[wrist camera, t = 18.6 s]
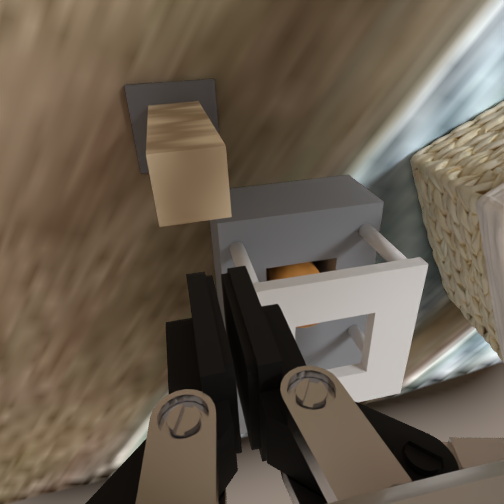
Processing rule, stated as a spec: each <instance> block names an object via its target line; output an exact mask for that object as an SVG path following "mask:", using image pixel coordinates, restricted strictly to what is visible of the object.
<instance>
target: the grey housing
mask: <svg viewBox="0 0 504 504" xmlns="http://www.w3.org/2000/svg"><path fill="white" fill-rule="evenodd" d="M229 190H230V202H231V214H232V217H229V218H221V219H214V220H210V228H211V238H212V248H213V258H214V267H215V277H216V287H217V297H218V301H219V305H220V309H221V313H222V318H223V322H224V326H225V330H226V325H225V315H224V304H223V293H222V282H221V274H225V273H227V268H232V267H239V266H246V268H247V270H248V273H249V276H250V278H251V281H252V283H253V286H254V288H255V291H256V294H257V296H258V299H259V301H260V304H261V306H267V305H273V304H278V305H279V306H280V308H281V310H282V312H283V314H284V317H285V319H286V321H287V323H288V325H289V328H290V330H291V332H292V334H293V336H294V339H295V341H296V343H297V345H298V347H299V350H300V352H301V354H302V356H303V359H304V361H305V363H306V365H307V366H317V367H320V368H324V369H326V370H328V371H329V372H331V373H333V374H334V375H335V376H336V377H337V379H338V380H339V381H340V382H341V384H342V385H343V386H344V388H345V389H346V390H347V392H348V393H349V395H350V396H351V397H352V399H353V400H354V401H355V402H362V401H366V400H371V399H375V398H380V397H384V396H389V395H394V394H398V393H400V391H401V387H402V382H403V378H404V373H405V369H406V364H407V360H408V355H409V351H410V346H411V342H412V337H413V332H414V328H415V323H416V319H417V314H418V310H419V305H420V301H421V296H422V292H423V287H424V283H425V278H426V273H427V269H428V263H427V262H425V261H424V260H423V259H422V258H421V257H417V258H411V259H407V258H406V257H405V256H404V255H403V254H402V253H401V252H400V251H399V250H398V249H396V248H395V247H394V246H393V245H392V244H391V243H390V242H389V241H388V240H387V239H386V238H384V237H383V236H382V235H381V234H380V227H381V220H382V212H383V205H384V202H383V201H382V200H381V199H380V198H378V197H377V196H376V195H374V194H373V193H372V192H370V191H369V190H368V189H366V188H365V187H364V186H363V185H361V184H360V183H359V182H357V181H356V180H355V179H353V178H352V177H351V176H349V175H343V176H334V177H326V178H317V179H308V180H300V181H291V182H283V183H274V184H265V185H257V186H248V187H239V188H231V189H229ZM377 252H378V253H379V254H380V255H381V256H382V257H383V258H384V259H385V260H386V261H387V262H385V263H379V264H375V262H376V255H377ZM306 262H313V263H314V265H315V266H316V268H317V269H318V271H319V272H320V273H316V274H309V275H303V276H297V277H290V278H284V279H278V280H271V281H267V280H266V268H273V267H280V266H286V265H293V264H299V263H306ZM315 323H318V324H317V325H314V326H311V327H307V328H297V327H298V326H304V325H309V324H315ZM236 387H237V386H236ZM237 399H238V411H239V423H240V434H244V433H247V428H246V424H245V420H244V416H243V411H242V407H241V403H240V398H239V394H238V390H237Z"/></svg>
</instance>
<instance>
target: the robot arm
mask: <svg viewBox="0 0 504 504" xmlns="http://www.w3.org/2000/svg"><path fill="white" fill-rule="evenodd" d="M186 276H187V284H188V291H189V298H190V305H191V313H192V318H189V319H183V320H177V321H171V322H166V342H167V364H168V386H169V395H167V396H165V397H164V398H163V399H162V400H161V401H159V402H158V404H157V405H156V406H155V408H154V409H153V411H152V414H151V417H150V422H149V428H148V434H147V439H146V440H145V441H144V442H143V443H142V444H141V445H140V446H139V447H138V448H137V449H136V450H135V451H134V452H133V453H132V455H131V456H130V457H129V458H128V459H127V460H126V461H125V462H124V463H123V464H122V465H121V466H120V467H119V468H118V470H117V471H116V472H115V473H114V474H113V475H112V476H111V477H110V478H109V479H108V480H107V481H106V482H105V483H104V484H103V486H102V487H101V488H100V489H99V490H98V491H97V492H96V493H95V494H94V495H93V497H91V498H90V499H89V501H88V502H87V503H86V504H227V501H226V500H227V496H226V487H227V485H228V484H229V482H230V481H231V479H232V478H233V476H234V475H235V473H236V472H237V470H238V468H237V457H236V454H237V453H241V452H242V449H241V435H240V423H239V411H238V399H237V390H238V394H239V398H240V403H241V407H242V411H243V416H244V420H245V424H246V428H247V433H248V437H249V441H250V445H251V449H252V450H254V449H259V450H260V454H261V458H262V461H267V463H268V464H270V465H271V466H273V467H275V468H277V469H278V470H280V472H281V476H282V480H283V482H284V485H285V487H286V489H287V491H288V493H289V496H290V498H291V500H292V503H293V504H504V438H455V437H451V438H449V441H448V442H441V441H440V440H438V439H437V438H435V437H433V436H431V435H430V434H428V433H425V432H423V431H421V430H418V429H416V428H414V427H412V426H409V425H407V424H405V423H403V422H400V421H398V420H396V419H394V418H391V417H389V416H387V415H385V414H382V413H380V412H378V411H375V410H373V409H371V408H369V407H366V406H364V405H362V404H360V403H357V402H355V401H354V400H353V399H352V397H351V396H350V395H349V393H348V392H347V390H346V389H345V388H344V386H343V385H342V384H341V382H340V381H339V380H338V379H337V377H336V376H335V375H334V374H333V373H331V372H329V371H328V370H326V369H324V368H320V367H317V366H307V365H306V363H305V361H304V359H303V356H302V354H301V352H300V350H299V347H298V345H297V343H296V341H295V339H294V336H293V334H292V332H291V330H290V328H289V325H288V323H287V321H286V319H285V317H284V314H283V312H282V310H281V308H280V306H279V305H278V304H273V305H267V306H261V304H260V301H259V299H258V296H257V294H256V291H255V288H254V286H253V283H252V281H251V278H250V276H249V273H248V270H247V268H246V266H239V267H232V268H227V273H225V274H221V282H222V293H223V304H224V315H225V325H226V330H225V326H224V322H223V318H222V313H221V309H220V305H219V301H218V297H217V293H216V289H215V284H214V280H213V276H212V275H211V276H205V272H199V273H192V274H186ZM236 386H237V387H236Z"/></svg>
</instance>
